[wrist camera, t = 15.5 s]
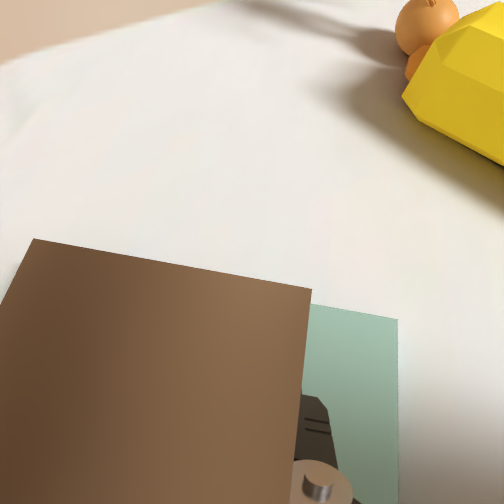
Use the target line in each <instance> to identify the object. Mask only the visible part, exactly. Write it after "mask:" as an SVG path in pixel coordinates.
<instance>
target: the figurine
mask: <svg viewBox="0 0 504 504" xmlns="http://www.w3.org/2000/svg"><path fill="white" fill-rule="evenodd" d="M457 21H459V13H458V10H457V7H456V6H455V4H454V3H453V1H452V0H410V1H409V2H408V3H407V4H406V5H405V6H404V7H403V9H402V10H401V12H400V13H399V16H398V18H397V21H396V26H395V35H396V40H397V42H398V45H399V46H400V48H401V49H402V50H403V51H404V52H405V53H406V54H407V55H409V56H411V55H412V54H413V53H414V52H416V51H417V50H418V49H419V48H420V47H422V46H423V45H432V43H433V41H434V40H435V39H436V38H437V37H439V36H440V35H441V34H442V33H444V32H445V31H446V30H447V29H449V28H450V27H451V26H452V25H454V24H455V23H456V22H457Z"/></svg>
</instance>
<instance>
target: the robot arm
mask: <svg viewBox="0 0 504 504" xmlns="http://www.w3.org/2000/svg"><path fill="white" fill-rule="evenodd" d="M289 504H361V503H360V502H359V501H357V500H356V499H355V498H354V497H353V488H352V485H351V484H350V482H349V480H348V479H347V478H346V477H345V476H344V475H343V474H342V473H341V472H340V471H339V470H338V464H337V459H336V453H335V448H334V442H333V437H332V431H331V426H330V420H329V415H328V410H327V408H326V407H325V406H324V405H323V403H322V402H321V401H320V400H319V398H318V397H314V396H309V395H303V394H302V387H301V396H300V406H299V415H298V425H297V434H296V444H295V453H294V462H293V472H292V481H291V491H290V500H289Z"/></svg>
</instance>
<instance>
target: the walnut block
mask: <svg viewBox="0 0 504 504" xmlns="http://www.w3.org/2000/svg"><path fill="white" fill-rule="evenodd" d="M311 293H312V289H309V288H304V287H298V286H293V285H287V284H282V283H276V282H271V281H265V280H260V279H254V278H249V277H243V276H238V275H232V274H227V273H221V272H216V271H210V270H205V269H199V268H194V267H188V266H183V265H177V264H171V263H166V262H160V261H155V260H149V259H144V258H138V257H133V256H127V255H122V254H116V253H111V252H105V251H100V250H94V249H89V248H83V247H78V246H72V245H67V244H61V243H56V242H50V241H45V240H39V239H34V238H33V240H32V242H31V244H30V246H29V248H28V250H27V252H26V254H25V256H24V258H23V260H22V262H21V265H20V267H19V269H18V271H17V273H16V275H15V277H14V279H13V281H12V283H11V285H10V287H9V289H8V291H7V293H6V295H5V297H4V299H3V301H2V303H1V305H0V504H289V500H290V491H291V481H292V472H293V462H294V453H295V444H296V434H297V425H298V415H299V406H300V396H301V387H302V378H303V368H304V359H305V349H306V340H307V330H308V321H309V312H310V302H311Z"/></svg>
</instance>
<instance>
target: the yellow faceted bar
mask: <svg viewBox="0 0 504 504" xmlns="http://www.w3.org/2000/svg"><path fill="white" fill-rule="evenodd" d="M405 77H406V78H407V79H408V81H409V84H408V85H407V87H406V89H405V91H404V92H403V94H402V96H401V97H402V98H403V100H404V101H405V102H406V104H407V105H408V107H409V108H410V110H411V111H412V112H413V114H414V115H415V117H416V118H417V119H418V121H420V122H422V123H424V124H426V125H428V126H429V127H431V128H433V129H435V130H437V131H438V132H440V133H442V134H444V135H446V136H448V137H449V138H451V139H453V140H455V141H457V142H459V143H461V144H462V145H464V146H466V147H468V148H470V149H472V150H474V151H476V152H478V153H479V154H481V155H483V156H485V157H487V158H489V159H491V160H493V161H494V162H496V163H498V164H500V165H502V166H504V3H501V2H499V1H498V2H496V3H494V4H491V5H489V6H487V7H484V8H482V9H480V10H478V11H475V12H473V13H471V14H468V15H466V16H464V17H462V18H461V19H460V20H459V21H457V22H456V23H455V24H454V25H452V26H451V27H450V28H449V29H447V30H446V31H445V32H444V33H442V34H441V35H440V36H439V37H437V38H436V39H435V40H434V41H433V43H432V45H423V46H422V47H420V48H419V49H418V50H417V51H416V52H414V53H413V54H412V55H411V56H410V57H409V59H408V63H407V67H406V71H405Z"/></svg>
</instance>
